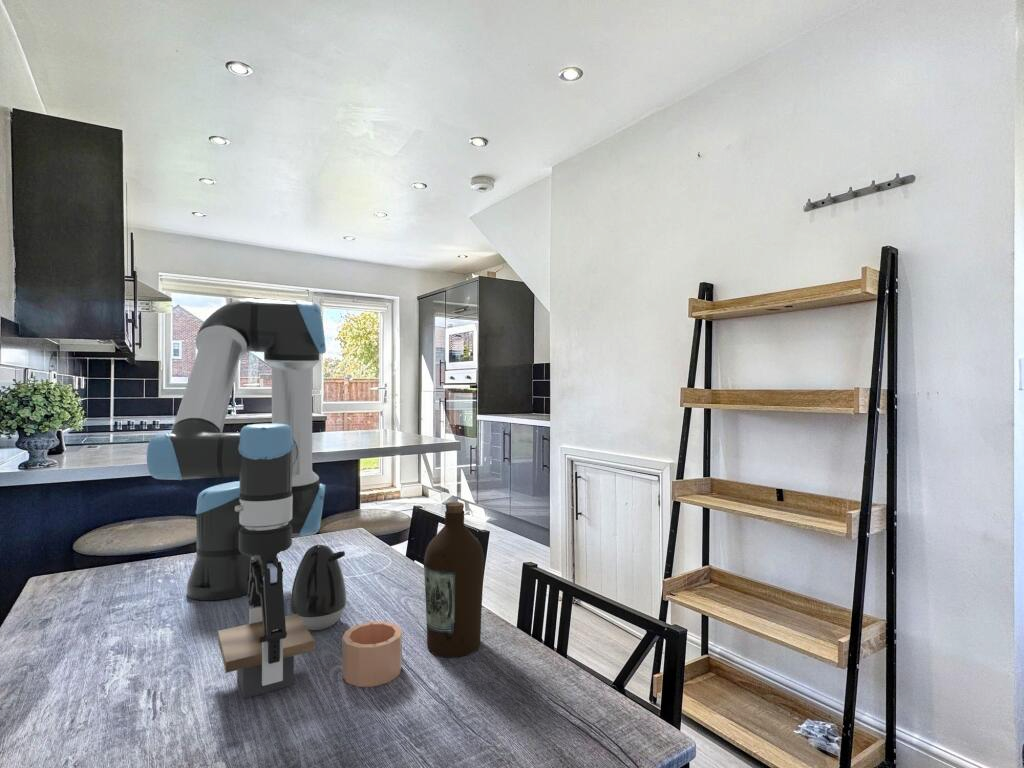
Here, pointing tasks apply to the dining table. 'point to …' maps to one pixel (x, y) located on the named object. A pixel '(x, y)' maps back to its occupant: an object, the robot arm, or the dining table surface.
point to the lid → (247, 651)
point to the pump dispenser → (319, 588)
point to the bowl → (371, 653)
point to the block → (253, 679)
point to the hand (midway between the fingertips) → (265, 663)
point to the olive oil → (454, 587)
